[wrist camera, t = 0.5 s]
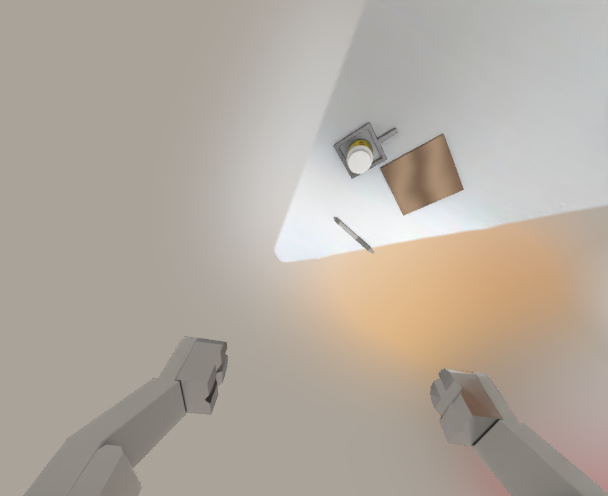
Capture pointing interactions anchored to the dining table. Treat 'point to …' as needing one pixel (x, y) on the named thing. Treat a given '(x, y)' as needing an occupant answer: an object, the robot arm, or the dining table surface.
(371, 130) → the grey frame with handle
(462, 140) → the dining table surface
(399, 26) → the dining table surface
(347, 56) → the dining table surface
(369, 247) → the pen
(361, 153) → the supplement bottle
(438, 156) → the pad
